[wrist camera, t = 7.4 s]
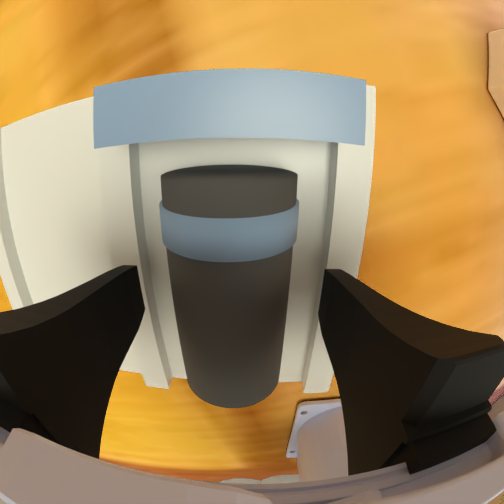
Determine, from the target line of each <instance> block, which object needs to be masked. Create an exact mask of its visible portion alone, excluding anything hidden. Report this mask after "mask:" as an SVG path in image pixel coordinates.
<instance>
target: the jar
mask: <svg viewBox="0 0 504 504" xmlns="http://www.w3.org/2000/svg"><path fill="white" fill-rule="evenodd" d="M488 42H489V77H488V90H489V92H490V94H491V96H492V97H493V99H494V101H495V103H496V105H497V107H498V108H499V110H500V112H501V114H502V116H503V118H504V28H503V29H498V30H494V31H490V32H489V33H488Z"/></svg>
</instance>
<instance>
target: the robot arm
mask: <svg viewBox="0 0 504 504" xmlns="http://www.w3.org/2000/svg"><path fill="white" fill-rule="evenodd" d="M144 312H145V305H144V300H143V295H142V290H141V285H140V279H139V274H138V268H137V265H122V266H119V267H116V268H114V269H112V270H109V271H107V272H105V273H103V274H101V275H99V276H97V277H95V278H93V279H91V280H89V281H87V282H85V283H83V284H81V285H79V286H77V287H75V288H73V289H71V290H69V291H67V292H65V293H62V294H60V295H58V296H55V297H53V298H50V299H47V300H45V301H42V302H39V303H36V304H33V305H29V306H26V307H22V308H19V309H15V310H10V311H5V312H0V498H1V499H2V500H3V501H5V502H6V503H7V504H486V503H488V502H489V501H491V500H492V499H494V498H495V497H496V496H498V495H499V494H500V493H502V492H503V491H504V411H502V412H500V413H499V414H497V415H496V416H495V417H494V418H492V419H491V418H490V416H489V415H488V412H490V410H491V409H492V406H491V404H490V402H489V401H488V399H489V398H490V396H491V395H492V393H493V392H494V391H495V389H496V388H497V386H498V385H499V384H500V382H501V381H502V379H503V378H504V341H503V340H502V339H501V338H500V337H499V336H497V335H491V334H485V333H478V332H472V331H468V330H464V329H460V328H456V327H452V326H449V325H446V324H443V323H440V322H437V321H434V320H431V319H429V318H426V317H424V316H421V315H419V314H417V313H414V312H412V311H410V310H408V309H406V308H404V307H402V306H400V305H398V304H396V303H395V302H393V301H391V300H389V299H388V298H386V297H384V296H383V295H381V294H379V293H378V292H376V291H375V290H373V289H371V288H370V287H368V286H367V285H365V284H364V283H362V282H361V281H359V280H358V279H356V278H355V277H353V276H352V275H350V274H349V273H347V272H345V271H343V270H341V269H325V270H324V277H323V284H322V291H321V298H320V304H319V310H318V317H319V323H320V329H321V334H322V337H323V340H324V344H325V347H326V350H327V353H328V356H329V359H330V362H331V365H332V368H333V371H334V374H335V377H336V380H337V384H338V388H339V393H340V399H331V400H319V401H305V402H301V403H300V404H298V407H297V411H296V415H295V419H294V423H293V427H292V431H291V435H290V439H289V443H288V447H287V450H286V457H287V458H296V457H297V466H298V477H299V482H295V483H277V484H237V483H219V482H207V481H197V480H189V479H182V478H175V477H169V476H164V475H158V474H153V473H148V472H144V471H139V470H135V469H131V468H127V467H123V466H120V465H116V464H113V463H109V462H106V461H103V460H100V459H99V453H100V443H101V436H102V430H103V425H104V419H105V415H106V410H107V406H108V402H109V398H110V395H111V392H112V388H113V385H114V382H115V379H116V376H117V374H118V371H119V369H120V367H121V365H122V363H123V361H124V359H125V357H126V355H127V353H128V350H129V348H130V346H131V344H132V342H133V340H134V338H135V336H136V334H137V332H138V330H139V327H140V324H141V322H142V318H143V315H144Z"/></svg>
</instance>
